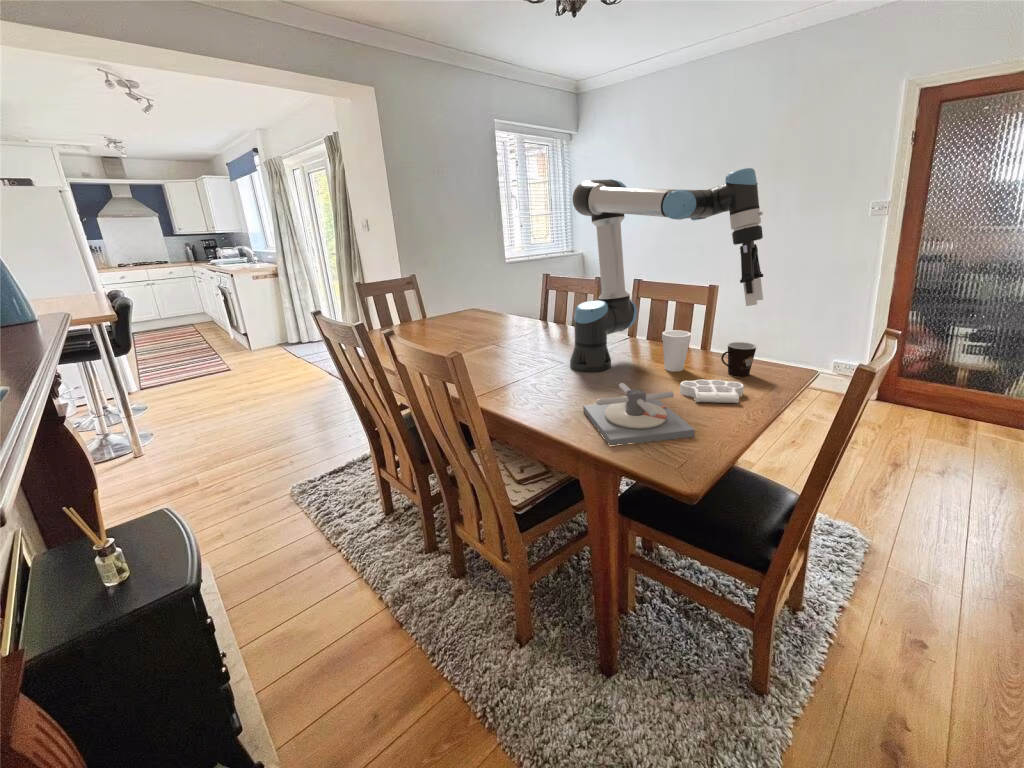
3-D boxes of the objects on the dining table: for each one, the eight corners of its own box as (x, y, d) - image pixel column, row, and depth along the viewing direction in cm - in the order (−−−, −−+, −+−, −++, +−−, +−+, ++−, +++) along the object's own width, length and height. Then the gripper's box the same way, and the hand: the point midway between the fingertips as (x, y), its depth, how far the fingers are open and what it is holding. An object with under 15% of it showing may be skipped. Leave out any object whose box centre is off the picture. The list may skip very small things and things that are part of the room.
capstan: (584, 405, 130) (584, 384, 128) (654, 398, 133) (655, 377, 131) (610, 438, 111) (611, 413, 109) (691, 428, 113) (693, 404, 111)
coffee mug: (746, 369, 158) (750, 341, 155) (756, 378, 150) (761, 348, 147) (711, 370, 160) (714, 342, 156) (720, 378, 152) (723, 349, 148)
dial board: (583, 411, 132) (583, 404, 131) (655, 403, 135) (655, 396, 134) (609, 446, 112) (610, 438, 111) (694, 436, 114) (695, 428, 113)
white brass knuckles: (684, 404, 134) (677, 387, 148) (750, 406, 131) (737, 388, 144) (685, 394, 133) (677, 377, 147) (751, 395, 130) (738, 378, 143)
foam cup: (693, 369, 162) (696, 333, 157) (676, 374, 157) (679, 338, 153) (670, 363, 169) (673, 328, 165) (654, 368, 165) (656, 333, 160)
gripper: (755, 222, 117) (764, 305, 120) (766, 225, 137) (774, 296, 140) (723, 230, 121) (733, 309, 125) (738, 232, 141) (746, 300, 144)
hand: (754, 302), depth 132 cm, fingers open, 13 cm apart
